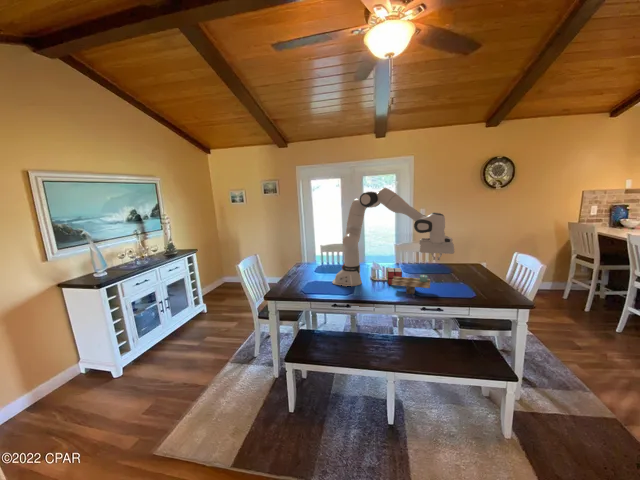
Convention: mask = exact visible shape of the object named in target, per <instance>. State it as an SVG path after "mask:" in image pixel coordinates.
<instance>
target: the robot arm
mask: <svg viewBox="0 0 640 480" xmlns="http://www.w3.org/2000/svg"><path fill="white" fill-rule="evenodd" d="M350 204H351V205H350V208H349V212H348V216H347V220H346V221H347V222H346V229H345V235H344V237H343V238H342V247H343V254H344V255H343V256H344V263H343V264H342V266H341V270H340V271H338V272H337V273H336V274H335V278H334V279H332V282H331V283H333V284H332V285H336V286H341V285H342V287H347V286H351V287H356V286H360V285H361V284H363V282H362V278H361V264H360V252H359V242H360V239H361V234H362V228H363V223H364V217H365V212H366V210H367V209H368V208H370V209H371V208H376V207H378V206H379V205H380V204H381V205H383V206H384V207H385V208H386V209H388V210H389V211H391V212H393V213H396V214H401V215H405V216H407V217H409V219H411V220H413V221H414V224H413V228H414V231H416V232H417V233H419V234H425V233H426V234H427V233H429V238H428V237H427V238H421V239H419V245H420V247H419V252H420V253H421V254H422V253H423V254H425V253H426V254H430V255H431V257H432V260H433V261H436V257H437V261H440V260H441V257H442V256H443V255H444V254H445V255H446V254H447V255H448V254H449V255H452V254H454V253H455V245H454V242H453V237H450V236H447V235H446V233H445V230H446V229H445V228H446V218H445V215H444V214H443V213H440V212H431V213H430V214H428V215H424V214H422V213H421V212H420V211H418V210H417V209H415V208H414V207H412V206H411V205H410V204H409V203H408V202H406V200H404V199H403V198H402V197H401V196H400V195H399V194H398V193H396V192H394V190H391V189H390V188H387V187H382V188H380V189H379V190H378V191H377V192H375V191H365V192H363V193H361V195H360V197H359V198H355V199H354V200H353V201H352V202H351V203H350ZM434 254H439V256H434Z"/></svg>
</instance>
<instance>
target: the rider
mask: <svg viewBox="0 0 640 480" xmlns="http://www.w3.org/2000/svg"><path fill="white" fill-rule="evenodd" d="M419 278H420V282H427V279H428V274H427V275H425V274H420V275H419Z"/></svg>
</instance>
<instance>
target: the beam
mask: <svg viewBox="0 0 640 480" xmlns="http://www.w3.org/2000/svg"><path fill="white" fill-rule="evenodd" d="M391 286H399V287H400V286H401V287H405V288H406V289H405V291H406V292H405V294H406V295H415V292H416V288H424V289H431V279H430V278H427V282H420V277H419V278H417V277H405V276H404V277H403V276H402V277H393V280H392V285H391Z"/></svg>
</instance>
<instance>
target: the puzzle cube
mask: <svg viewBox="0 0 640 480" xmlns="http://www.w3.org/2000/svg"><path fill="white" fill-rule="evenodd" d="M386 269H387V271H386V272H387V273H386V274H387V276H386V277H387V279H386V280H387V285H391V286H393V285H392V280H393V277H403V271H402V268H401V267H387V268H386Z"/></svg>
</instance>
